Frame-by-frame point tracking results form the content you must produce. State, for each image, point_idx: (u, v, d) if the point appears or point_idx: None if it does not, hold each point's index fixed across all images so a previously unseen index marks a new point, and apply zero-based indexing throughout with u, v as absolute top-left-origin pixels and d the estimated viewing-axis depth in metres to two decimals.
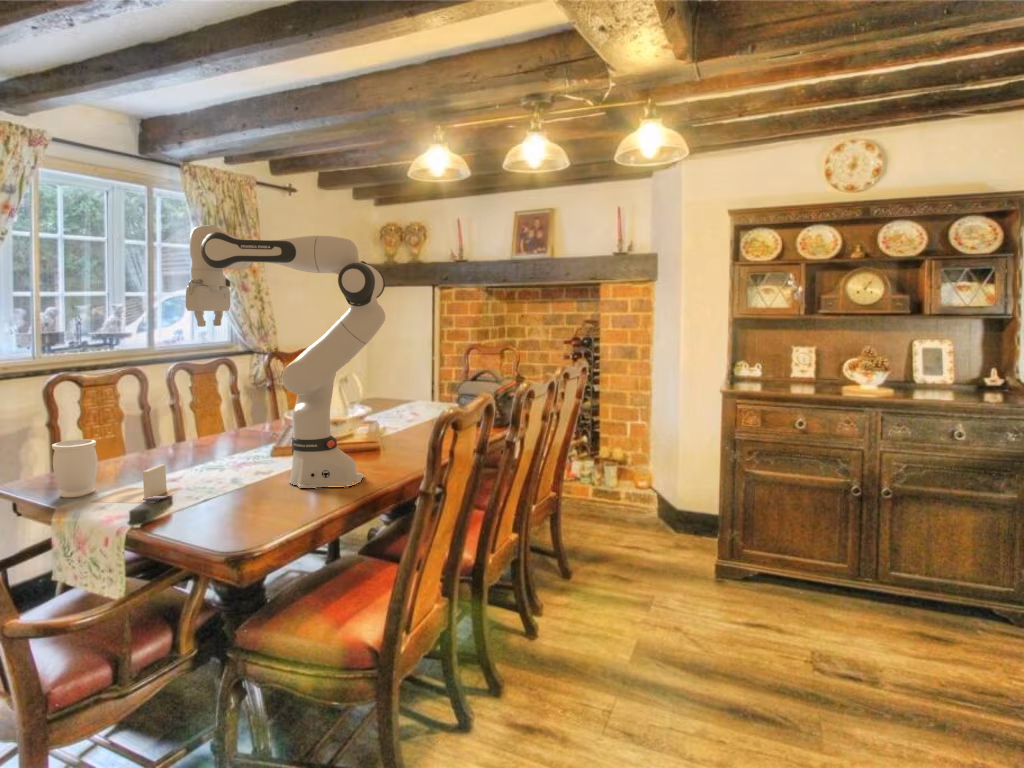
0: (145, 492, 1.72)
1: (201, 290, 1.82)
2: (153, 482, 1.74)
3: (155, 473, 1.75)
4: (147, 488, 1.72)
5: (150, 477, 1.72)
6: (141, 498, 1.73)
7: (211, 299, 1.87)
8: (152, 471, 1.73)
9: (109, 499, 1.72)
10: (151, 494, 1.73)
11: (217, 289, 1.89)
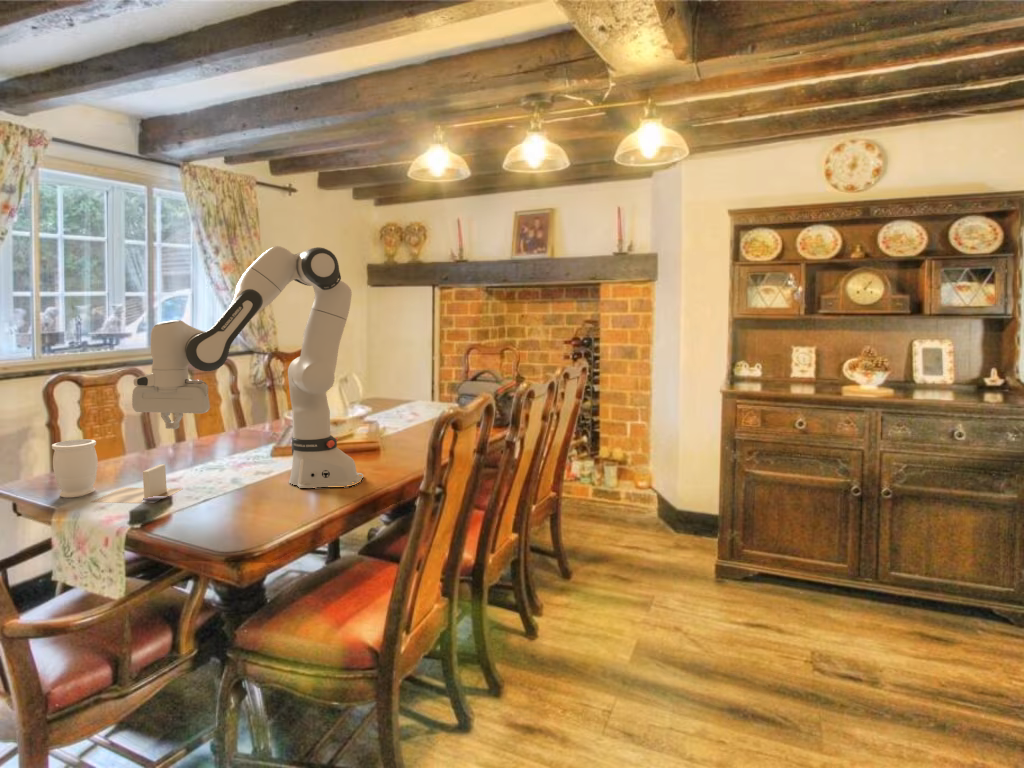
0: (145, 492, 1.72)
1: None
2: (153, 482, 1.74)
3: (155, 473, 1.75)
4: (147, 488, 1.72)
5: (150, 477, 1.72)
6: (141, 498, 1.73)
7: None
8: (152, 471, 1.73)
9: (109, 499, 1.72)
10: (151, 494, 1.73)
11: None
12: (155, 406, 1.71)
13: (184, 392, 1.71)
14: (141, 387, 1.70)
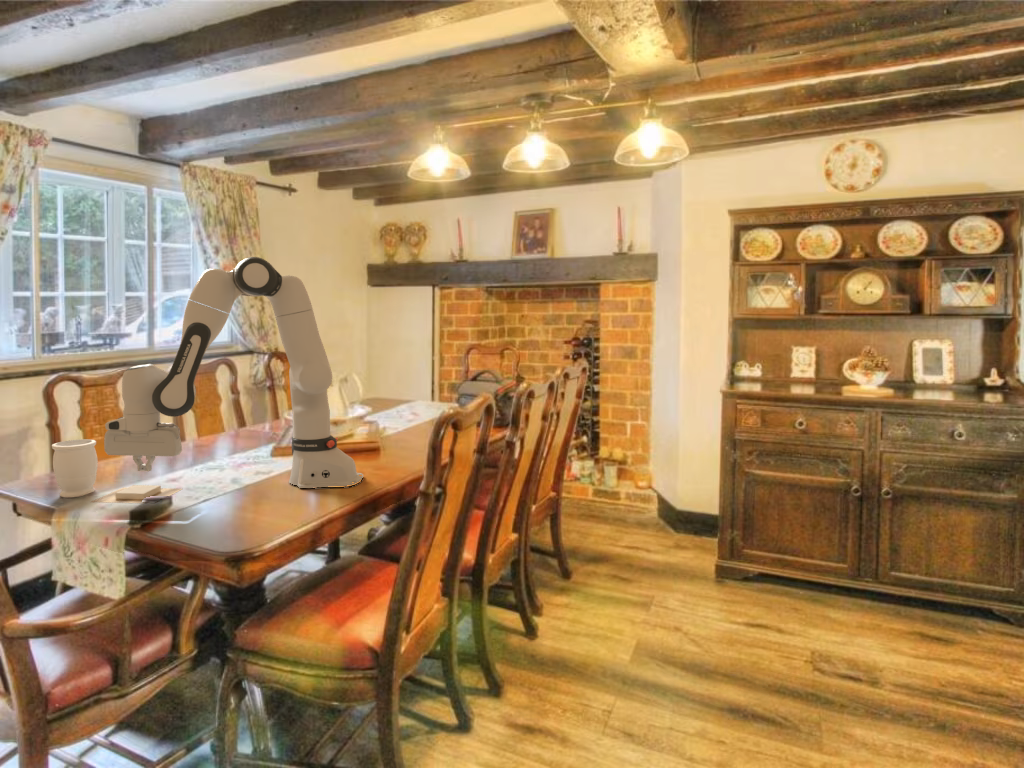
0: (136, 497, 1.72)
1: None
2: (132, 491, 1.74)
3: (128, 489, 1.76)
4: (132, 495, 1.72)
5: (123, 492, 1.73)
6: None
7: None
8: (121, 491, 1.74)
9: (109, 499, 1.72)
10: (140, 492, 1.73)
11: None
12: (127, 449, 1.73)
13: (156, 436, 1.72)
14: (113, 431, 1.71)
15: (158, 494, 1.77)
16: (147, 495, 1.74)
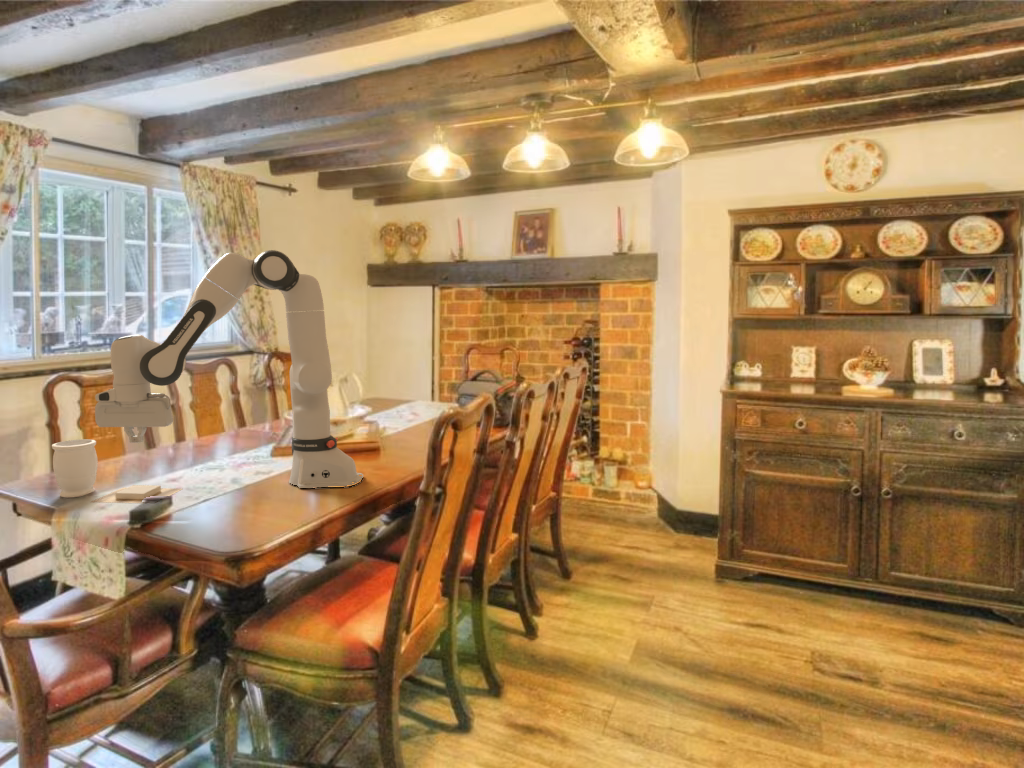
0: (136, 497, 1.72)
1: None
2: (132, 491, 1.74)
3: (128, 489, 1.76)
4: (132, 495, 1.72)
5: (123, 492, 1.73)
6: None
7: None
8: (121, 491, 1.74)
9: (109, 499, 1.72)
10: (140, 492, 1.73)
11: None
12: (118, 420, 1.72)
13: (146, 406, 1.72)
14: (103, 402, 1.71)
15: (158, 494, 1.77)
16: (147, 495, 1.74)
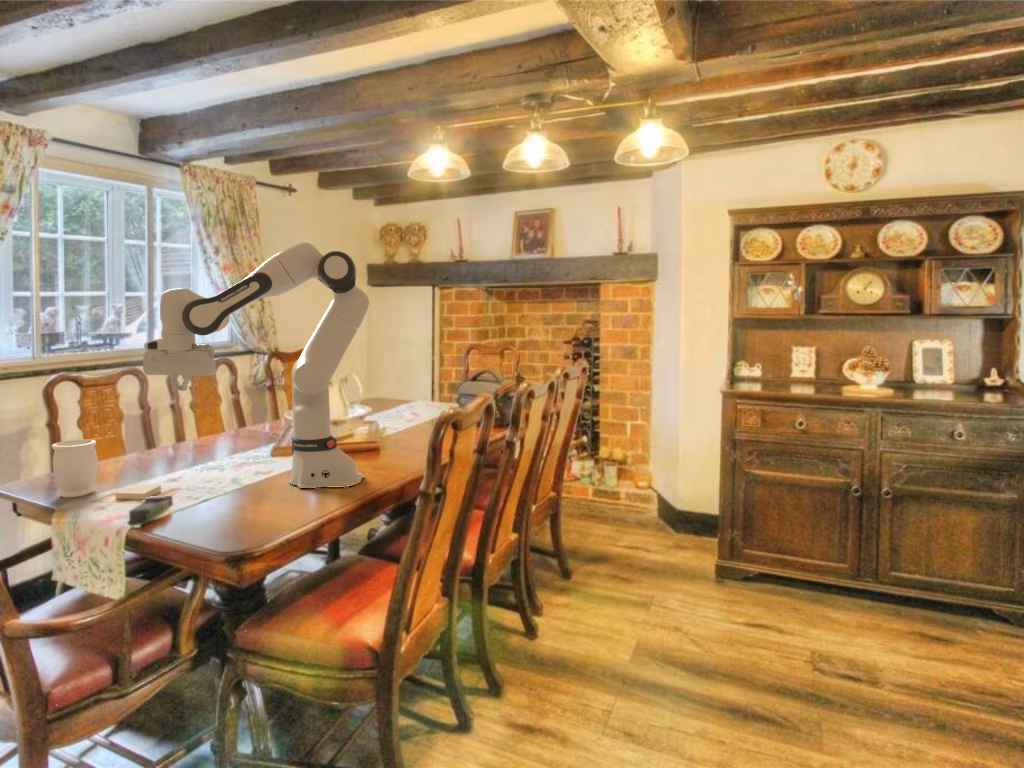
0: (136, 497, 1.72)
1: None
2: (132, 491, 1.74)
3: (128, 489, 1.76)
4: (132, 495, 1.72)
5: (123, 492, 1.73)
6: None
7: None
8: (121, 491, 1.74)
9: (109, 499, 1.72)
10: (140, 492, 1.73)
11: None
12: (164, 369, 1.82)
13: (192, 355, 1.82)
14: (151, 351, 1.81)
15: (158, 494, 1.77)
16: (147, 495, 1.74)
